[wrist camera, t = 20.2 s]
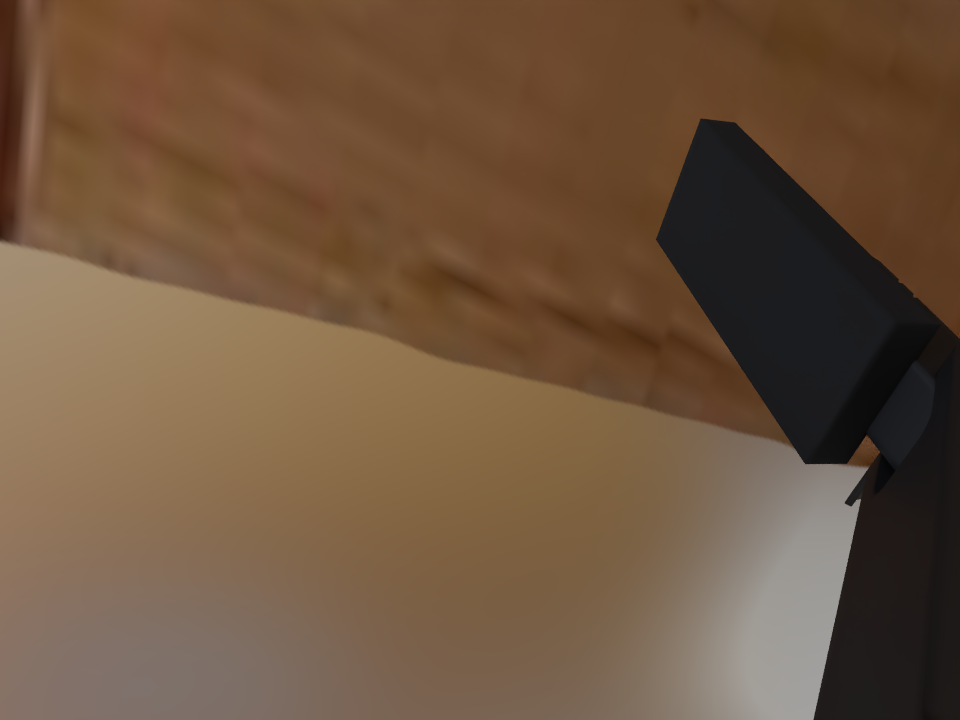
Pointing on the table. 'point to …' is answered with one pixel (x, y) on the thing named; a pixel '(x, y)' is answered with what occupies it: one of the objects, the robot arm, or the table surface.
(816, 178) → the table surface
